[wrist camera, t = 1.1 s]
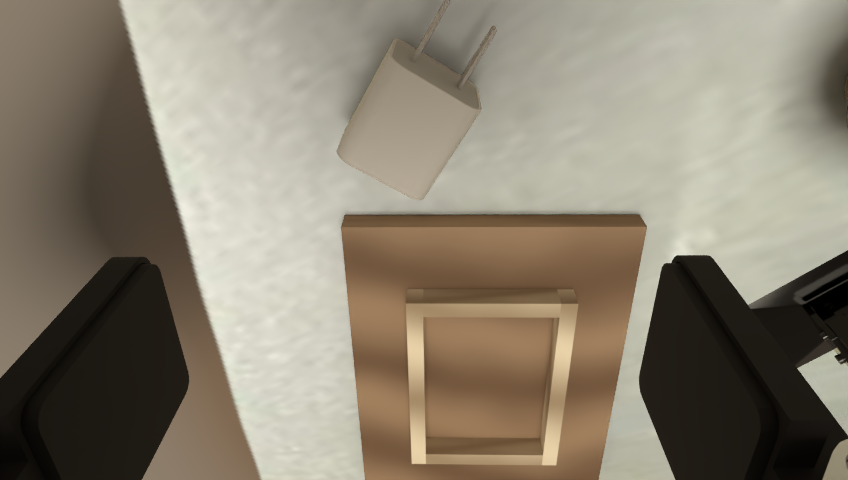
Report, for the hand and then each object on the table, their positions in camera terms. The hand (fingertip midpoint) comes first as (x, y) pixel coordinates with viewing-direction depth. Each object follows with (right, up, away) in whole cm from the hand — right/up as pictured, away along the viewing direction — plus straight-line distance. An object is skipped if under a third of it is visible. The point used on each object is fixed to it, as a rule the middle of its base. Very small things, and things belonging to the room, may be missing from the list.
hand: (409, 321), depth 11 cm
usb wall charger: (0, +8, +15) cm, 17 cm away
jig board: (+4, -5, +22) cm, 23 cm away
